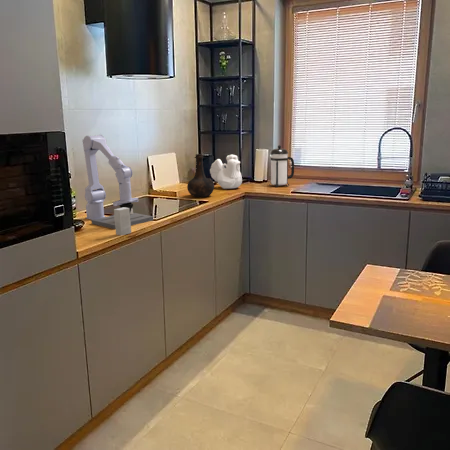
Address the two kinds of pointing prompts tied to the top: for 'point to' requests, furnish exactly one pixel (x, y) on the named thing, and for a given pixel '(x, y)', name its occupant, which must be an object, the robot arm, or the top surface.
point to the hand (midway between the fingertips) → (127, 217)
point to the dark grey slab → (110, 220)
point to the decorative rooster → (227, 172)
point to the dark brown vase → (200, 180)
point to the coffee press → (280, 167)
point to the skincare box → (122, 221)
